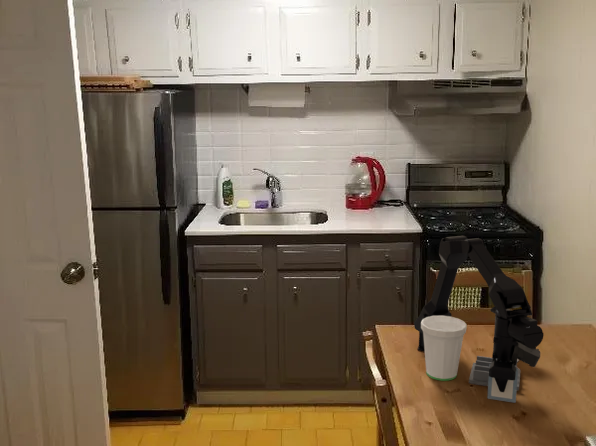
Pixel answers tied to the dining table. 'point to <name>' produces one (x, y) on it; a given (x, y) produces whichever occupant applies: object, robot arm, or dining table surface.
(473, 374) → the rack
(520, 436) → the dining table surface
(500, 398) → the light blue upright panel
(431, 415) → the dining table surface
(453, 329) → the cup
